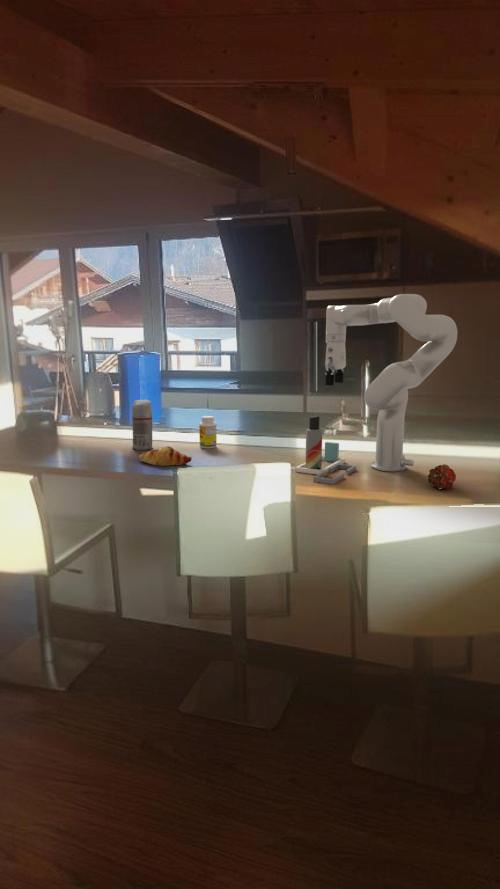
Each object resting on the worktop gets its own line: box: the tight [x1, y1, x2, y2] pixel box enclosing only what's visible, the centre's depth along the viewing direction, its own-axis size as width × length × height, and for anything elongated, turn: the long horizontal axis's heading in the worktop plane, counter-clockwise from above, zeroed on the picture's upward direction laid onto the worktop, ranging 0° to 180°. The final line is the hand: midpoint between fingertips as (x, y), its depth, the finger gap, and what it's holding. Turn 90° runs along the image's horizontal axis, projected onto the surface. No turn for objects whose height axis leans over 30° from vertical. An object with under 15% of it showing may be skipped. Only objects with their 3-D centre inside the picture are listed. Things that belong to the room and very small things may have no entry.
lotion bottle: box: [304, 415, 323, 470], centre depth 238 cm, size 6×6×20 cm
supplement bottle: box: [199, 415, 217, 450], centre depth 277 cm, size 7×7×13 cm
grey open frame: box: [313, 463, 357, 485], centre depth 234 cm, size 7×22×2 cm, turn 152°
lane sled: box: [294, 441, 346, 476], centre depth 245 cm, size 10×22×7 cm, turn 152°
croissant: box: [138, 445, 192, 467], centre depth 250 cm, size 21×10×8 cm
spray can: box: [131, 398, 153, 451], centre depth 274 cm, size 8×8×20 cm
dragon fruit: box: [427, 463, 457, 489], centre depth 218 cm, size 8×8×12 cm
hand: (334, 383), depth 258 cm, fingers open, 9 cm apart
